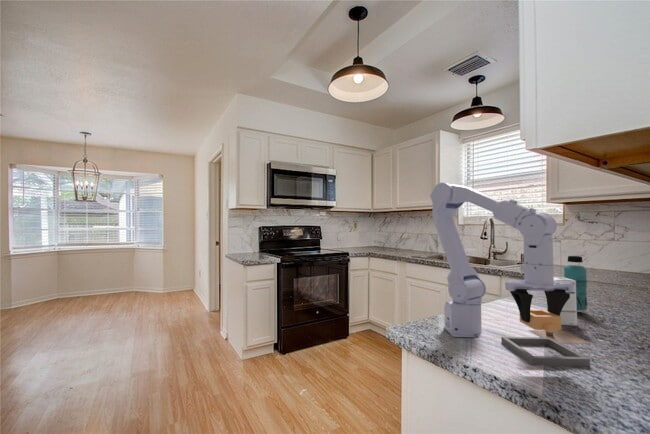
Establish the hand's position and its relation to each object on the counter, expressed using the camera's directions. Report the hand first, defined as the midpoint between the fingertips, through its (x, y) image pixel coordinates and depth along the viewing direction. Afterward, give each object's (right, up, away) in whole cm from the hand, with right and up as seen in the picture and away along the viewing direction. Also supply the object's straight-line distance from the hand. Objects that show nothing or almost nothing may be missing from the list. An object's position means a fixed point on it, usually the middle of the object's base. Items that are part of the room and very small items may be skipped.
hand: (539, 321), depth 70 cm
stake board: (+12, -9, +10) cm, 18 cm away
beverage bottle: (+38, -9, +35) cm, 53 cm away
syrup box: (+22, -9, +22) cm, 32 cm away
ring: (0, -1, 0) cm, 1 cm away
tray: (0, -8, -1) cm, 8 cm away
